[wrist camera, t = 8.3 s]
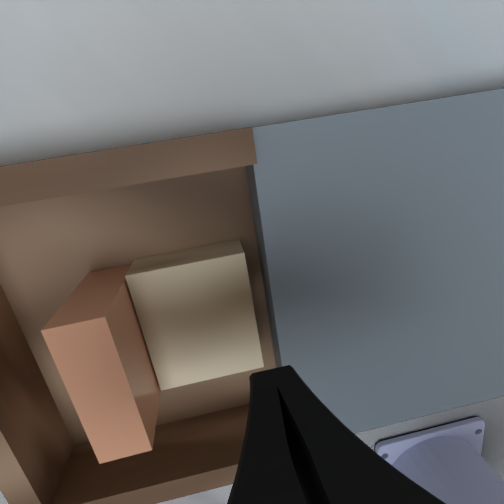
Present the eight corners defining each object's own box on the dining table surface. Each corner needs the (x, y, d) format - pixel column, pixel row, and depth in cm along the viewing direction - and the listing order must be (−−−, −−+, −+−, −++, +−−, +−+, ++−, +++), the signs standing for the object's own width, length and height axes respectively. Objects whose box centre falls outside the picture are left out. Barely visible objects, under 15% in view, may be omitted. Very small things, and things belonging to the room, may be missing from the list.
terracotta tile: (152, 450, 12) (99, 463, 12) (164, 366, 17) (126, 375, 17) (104, 316, 10) (40, 330, 10) (132, 263, 15) (89, 272, 15)
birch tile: (257, 343, 18) (263, 367, 16) (165, 363, 17) (161, 390, 15) (239, 239, 15) (244, 252, 14) (134, 259, 15) (124, 276, 13)
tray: (280, 405, 20) (299, 466, 16) (63, 457, 19) (28, 536, 15) (238, 131, 14) (252, 126, 11) (-71, 179, 13) (-179, 194, 9)
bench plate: (487, 356, 21) (532, 388, 18) (280, 405, 20) (293, 449, 17) (520, 86, 16) (590, 74, 13) (238, 131, 14) (248, 128, 12)
